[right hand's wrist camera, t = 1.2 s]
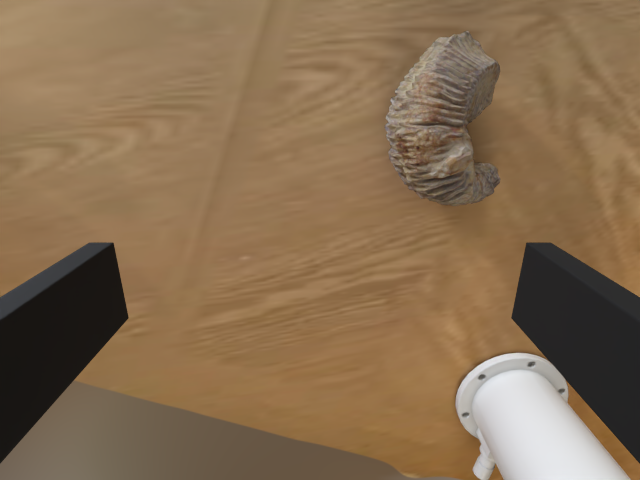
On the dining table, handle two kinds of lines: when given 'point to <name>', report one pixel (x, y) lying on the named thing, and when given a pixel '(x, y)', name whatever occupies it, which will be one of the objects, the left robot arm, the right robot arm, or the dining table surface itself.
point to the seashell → (443, 122)
